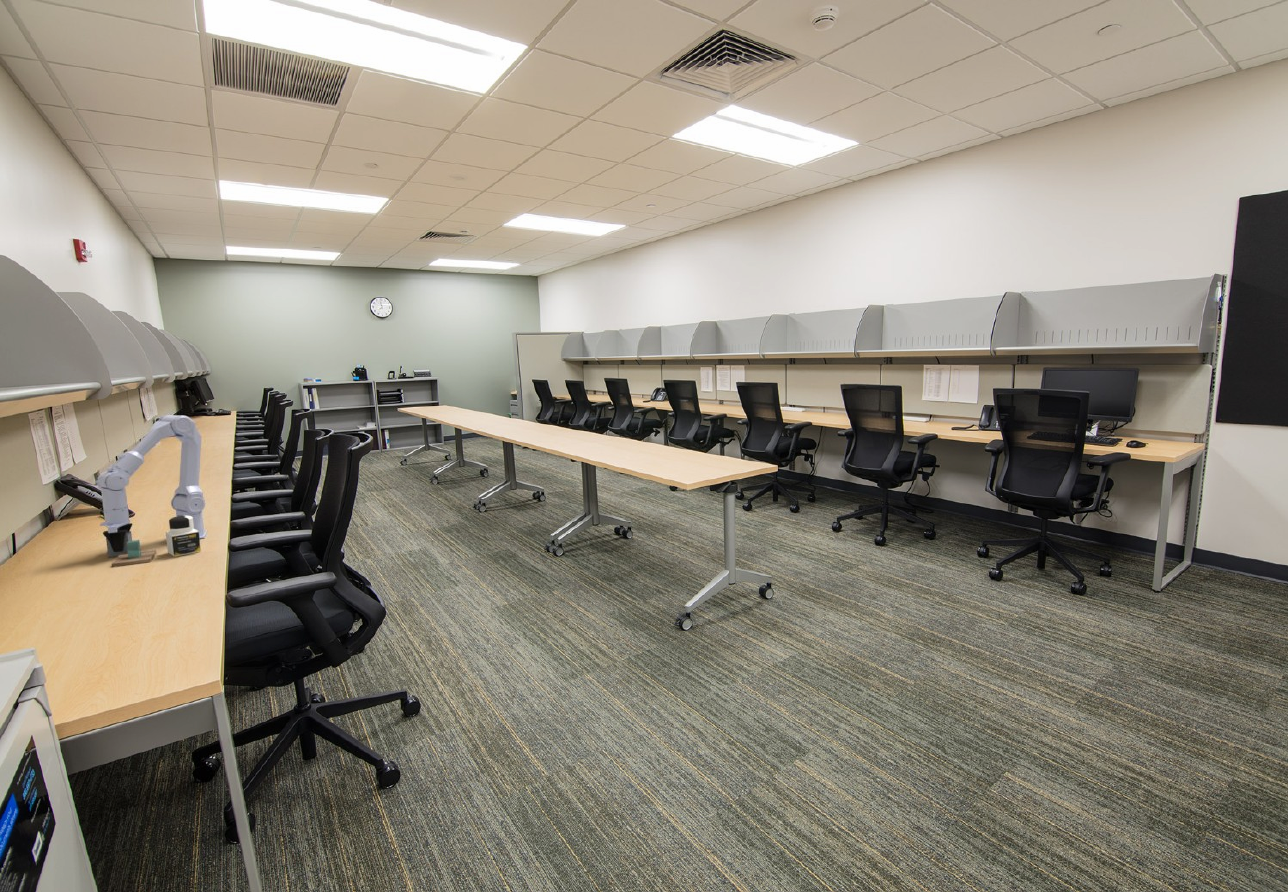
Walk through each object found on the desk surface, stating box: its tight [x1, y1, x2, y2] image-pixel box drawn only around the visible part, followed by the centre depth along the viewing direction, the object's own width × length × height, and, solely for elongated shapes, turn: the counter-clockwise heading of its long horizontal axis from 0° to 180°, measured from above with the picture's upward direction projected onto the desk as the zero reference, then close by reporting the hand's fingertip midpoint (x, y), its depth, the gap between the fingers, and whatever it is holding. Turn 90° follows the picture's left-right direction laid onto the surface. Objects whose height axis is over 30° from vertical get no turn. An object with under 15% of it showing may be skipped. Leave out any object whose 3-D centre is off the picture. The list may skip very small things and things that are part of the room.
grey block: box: [105, 530, 133, 558], centre depth 183 cm, size 5×5×7 cm
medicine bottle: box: [165, 516, 202, 558], centre depth 184 cm, size 7×7×12 cm
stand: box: [111, 539, 157, 568], centre depth 177 cm, size 10×9×6 cm
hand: (120, 549), depth 183 cm, fingers open, 5 cm apart
